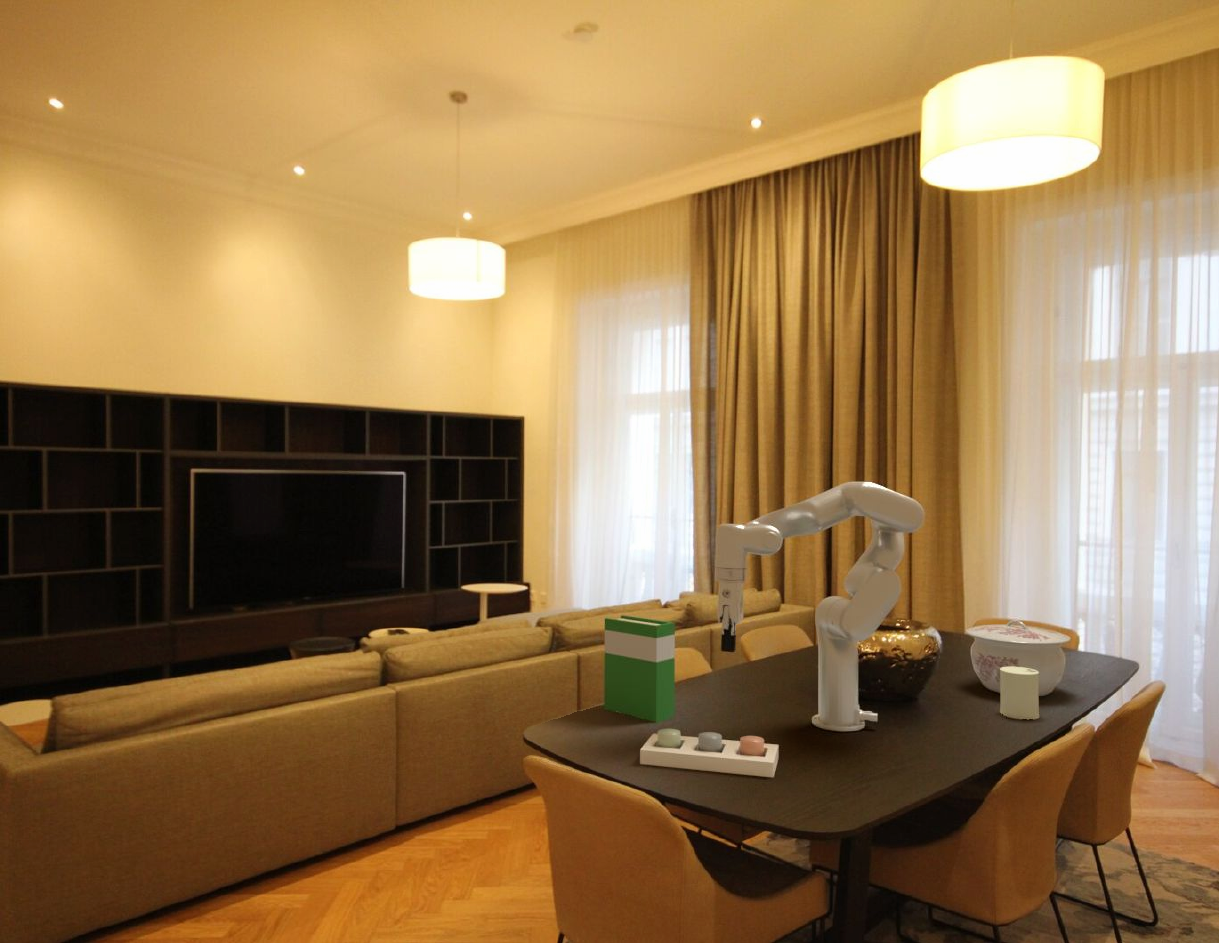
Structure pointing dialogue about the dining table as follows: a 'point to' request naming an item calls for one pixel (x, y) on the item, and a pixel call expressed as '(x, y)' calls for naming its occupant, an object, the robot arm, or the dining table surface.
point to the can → (1019, 692)
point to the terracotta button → (752, 746)
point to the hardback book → (640, 667)
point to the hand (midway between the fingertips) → (728, 651)
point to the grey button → (710, 742)
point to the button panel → (710, 757)
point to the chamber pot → (1017, 653)
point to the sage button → (669, 738)
